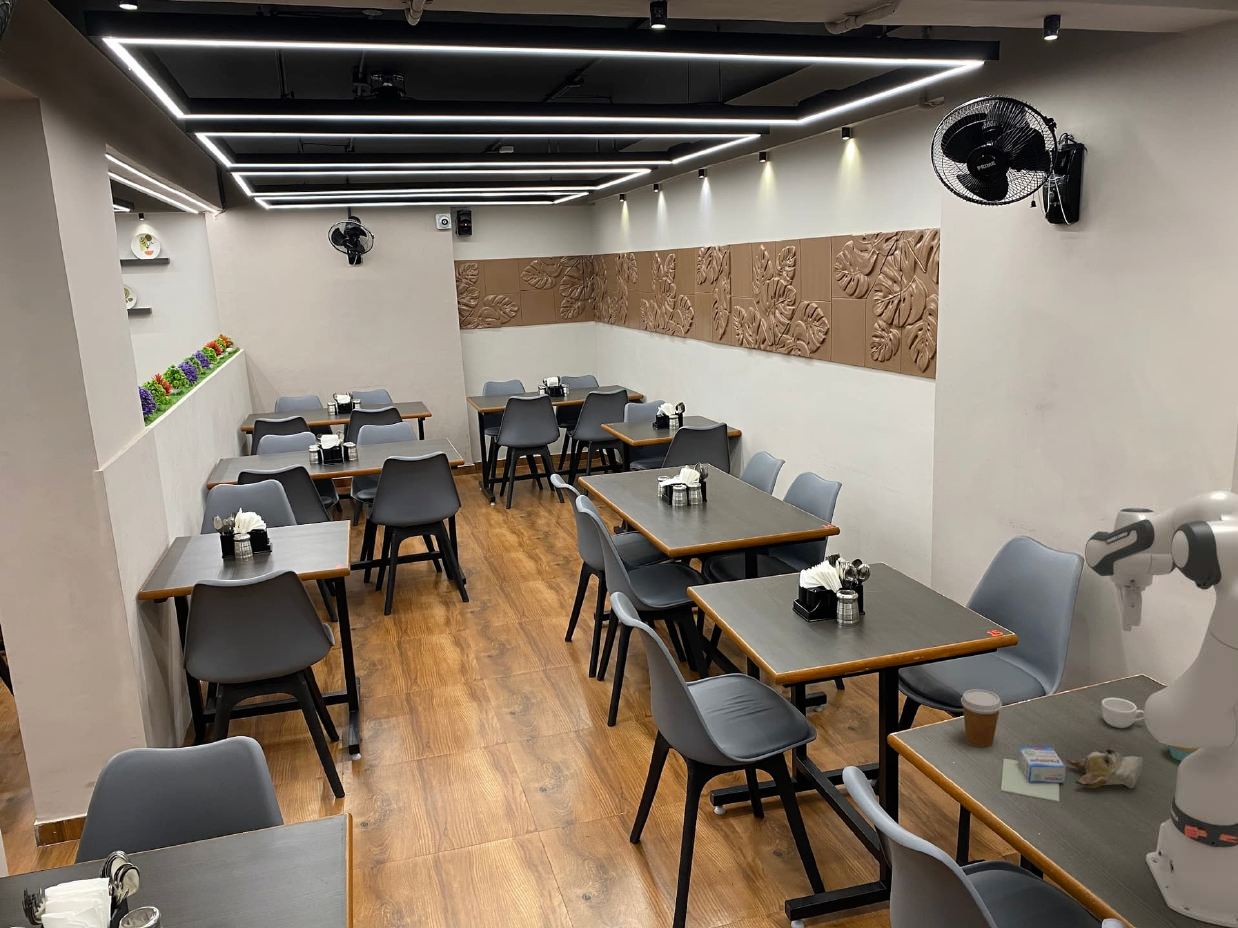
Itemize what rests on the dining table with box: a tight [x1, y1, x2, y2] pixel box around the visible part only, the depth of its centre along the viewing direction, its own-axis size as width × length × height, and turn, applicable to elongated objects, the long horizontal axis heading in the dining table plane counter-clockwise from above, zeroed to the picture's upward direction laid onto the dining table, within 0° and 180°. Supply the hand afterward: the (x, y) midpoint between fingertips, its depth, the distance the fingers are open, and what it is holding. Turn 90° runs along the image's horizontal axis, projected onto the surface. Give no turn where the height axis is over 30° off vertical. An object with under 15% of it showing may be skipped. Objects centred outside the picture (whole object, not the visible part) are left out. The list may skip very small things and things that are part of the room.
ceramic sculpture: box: [1065, 748, 1144, 789], centre depth 206 cm, size 11×9×15 cm
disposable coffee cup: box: [960, 688, 1003, 748], centre depth 225 cm, size 10×10×12 cm
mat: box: [1000, 758, 1060, 803], centre depth 209 cm, size 14×12×1 cm
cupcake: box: [1167, 745, 1200, 762], centre depth 214 cm, size 9×8×12 cm
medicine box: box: [1017, 746, 1066, 784], centre depth 210 cm, size 8×4×9 cm
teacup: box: [1101, 697, 1144, 729], centre depth 230 cm, size 10×8×5 cm
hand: (1126, 628), depth 214 cm, fingers closed
